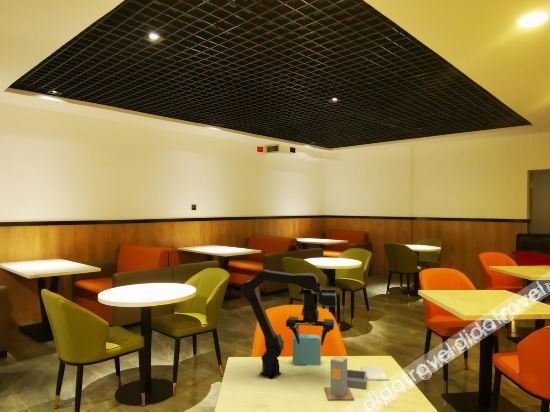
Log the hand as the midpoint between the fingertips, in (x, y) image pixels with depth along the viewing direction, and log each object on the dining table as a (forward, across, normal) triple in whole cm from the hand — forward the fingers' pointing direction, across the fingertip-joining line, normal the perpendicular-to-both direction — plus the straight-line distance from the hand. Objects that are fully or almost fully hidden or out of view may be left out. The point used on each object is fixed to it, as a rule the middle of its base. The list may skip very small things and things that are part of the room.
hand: (310, 344), depth 154 cm
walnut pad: (+13, -12, +12) cm, 22 cm away
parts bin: (+13, -16, +1) cm, 21 cm away
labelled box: (+12, -12, +12) cm, 21 cm away
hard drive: (+14, -25, -9) cm, 30 cm away
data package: (+13, +4, -14) cm, 20 cm away
